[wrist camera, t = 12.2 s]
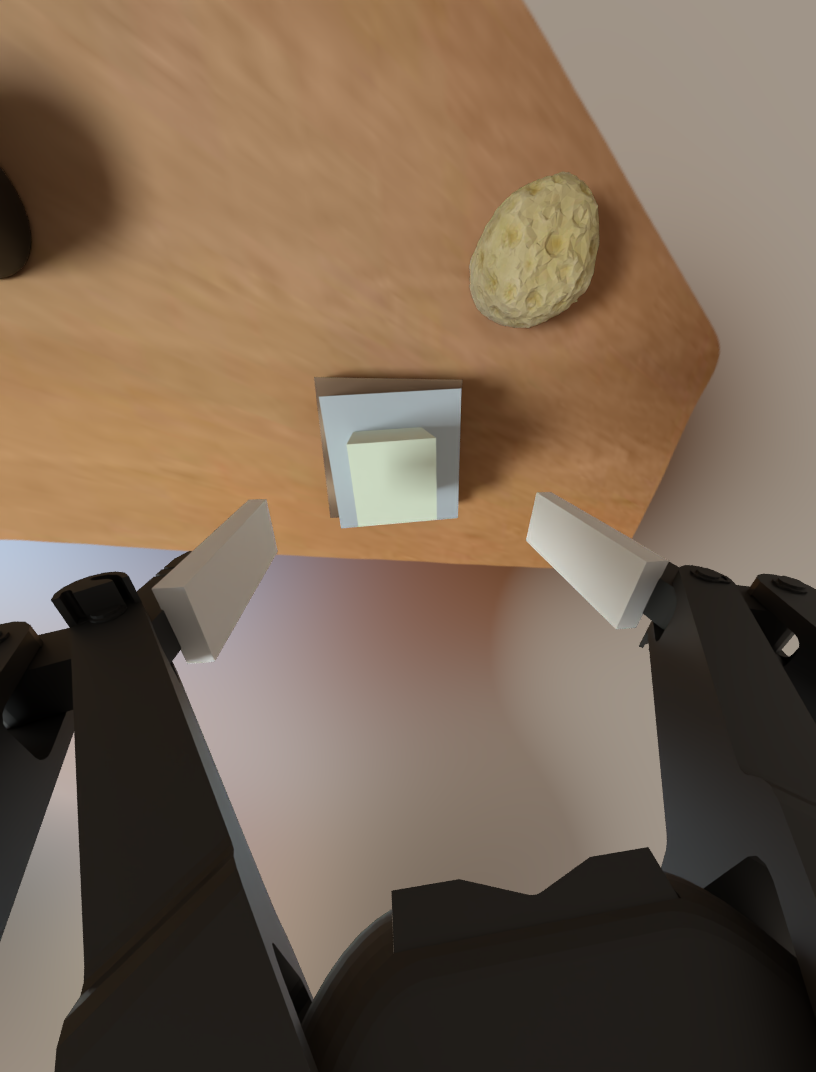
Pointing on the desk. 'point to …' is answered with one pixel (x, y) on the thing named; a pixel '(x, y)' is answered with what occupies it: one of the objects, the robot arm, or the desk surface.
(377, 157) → the desk surface
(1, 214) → the mug
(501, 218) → the decorative item
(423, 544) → the desk surface
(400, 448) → the block
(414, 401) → the top slab
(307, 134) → the desk surface
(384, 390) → the bottom slab
